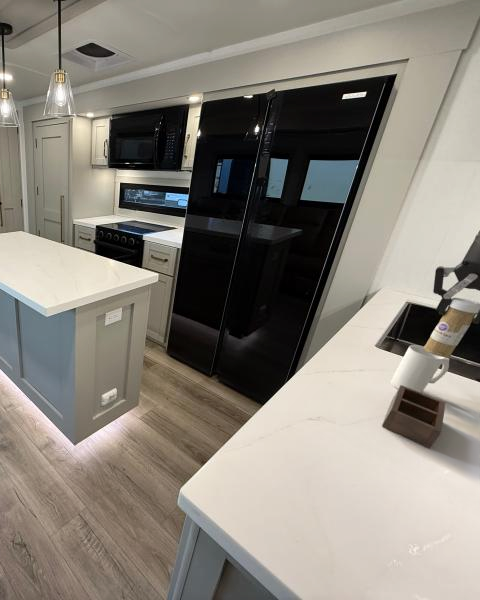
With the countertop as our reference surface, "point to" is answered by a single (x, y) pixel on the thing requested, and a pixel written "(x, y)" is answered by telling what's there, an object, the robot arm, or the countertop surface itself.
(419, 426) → the rack
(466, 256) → the robot arm
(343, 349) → the countertop surface
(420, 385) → the mug
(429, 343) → the sprinkles bottle
